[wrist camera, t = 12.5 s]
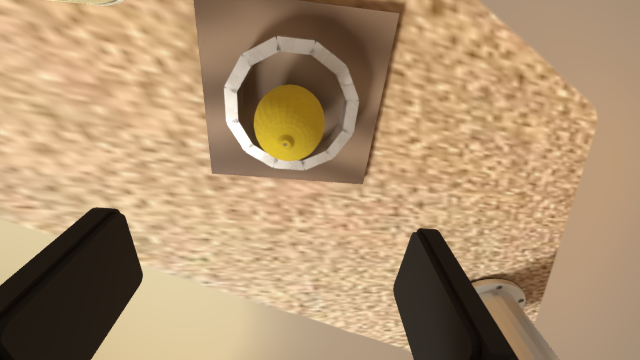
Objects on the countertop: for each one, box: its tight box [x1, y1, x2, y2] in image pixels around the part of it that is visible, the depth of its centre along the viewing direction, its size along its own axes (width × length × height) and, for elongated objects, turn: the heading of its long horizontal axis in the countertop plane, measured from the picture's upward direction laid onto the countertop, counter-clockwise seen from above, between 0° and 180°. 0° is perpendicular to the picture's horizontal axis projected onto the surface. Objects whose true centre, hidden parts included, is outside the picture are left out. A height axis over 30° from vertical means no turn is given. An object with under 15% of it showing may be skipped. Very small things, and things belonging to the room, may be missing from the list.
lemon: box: [254, 84, 325, 161], centre depth 22 cm, size 6×6×8 cm
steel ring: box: [224, 35, 359, 170], centre depth 24 cm, size 11×11×2 cm
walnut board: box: [194, 0, 400, 184], centre depth 25 cm, size 16×16×1 cm
